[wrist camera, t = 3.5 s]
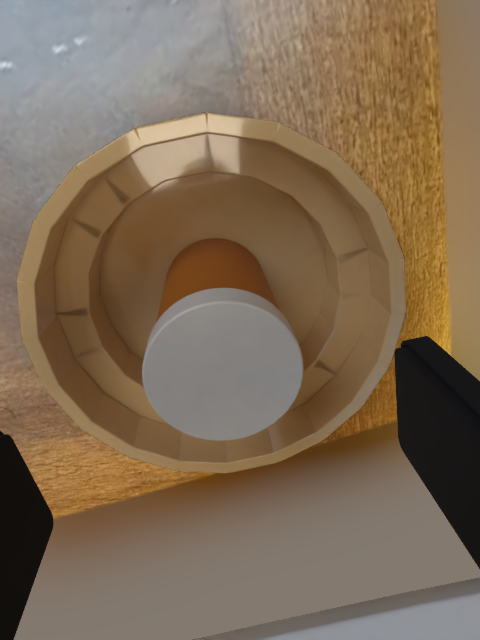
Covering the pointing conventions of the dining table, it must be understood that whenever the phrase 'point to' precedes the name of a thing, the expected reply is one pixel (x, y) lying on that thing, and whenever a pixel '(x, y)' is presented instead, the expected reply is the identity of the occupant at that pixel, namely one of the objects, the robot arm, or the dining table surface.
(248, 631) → the robot arm
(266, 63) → the dining table surface
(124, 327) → the beige round dish
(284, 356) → the pill bottle
